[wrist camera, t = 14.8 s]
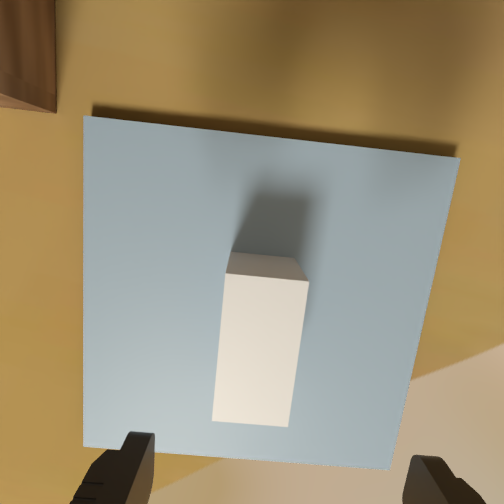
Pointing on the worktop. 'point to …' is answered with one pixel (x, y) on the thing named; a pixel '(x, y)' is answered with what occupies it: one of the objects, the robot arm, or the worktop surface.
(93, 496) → the robot arm
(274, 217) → the lid
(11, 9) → the box
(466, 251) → the worktop surface
